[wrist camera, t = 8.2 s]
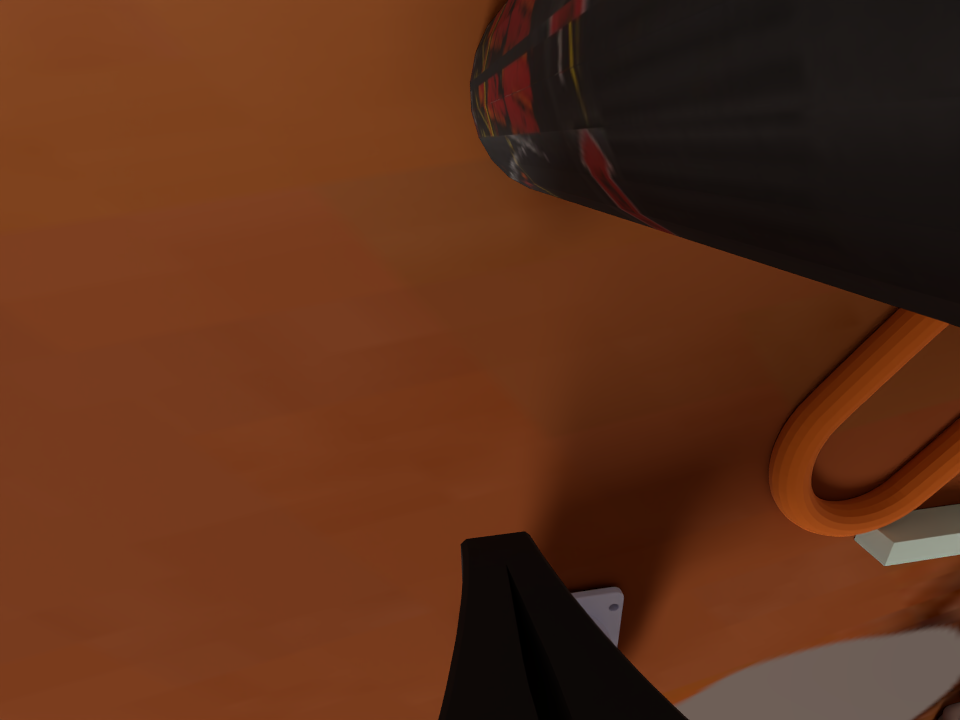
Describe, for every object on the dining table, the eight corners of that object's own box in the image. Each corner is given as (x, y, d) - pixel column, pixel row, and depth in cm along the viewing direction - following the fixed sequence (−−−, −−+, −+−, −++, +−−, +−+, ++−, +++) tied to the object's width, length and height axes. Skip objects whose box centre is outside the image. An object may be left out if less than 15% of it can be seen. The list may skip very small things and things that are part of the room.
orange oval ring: (744, 488, 22) (1043, 208, 18) (721, 465, 23) (992, 203, 20) (853, 571, 25) (1120, 348, 22) (827, 546, 27) (1073, 335, 23)
